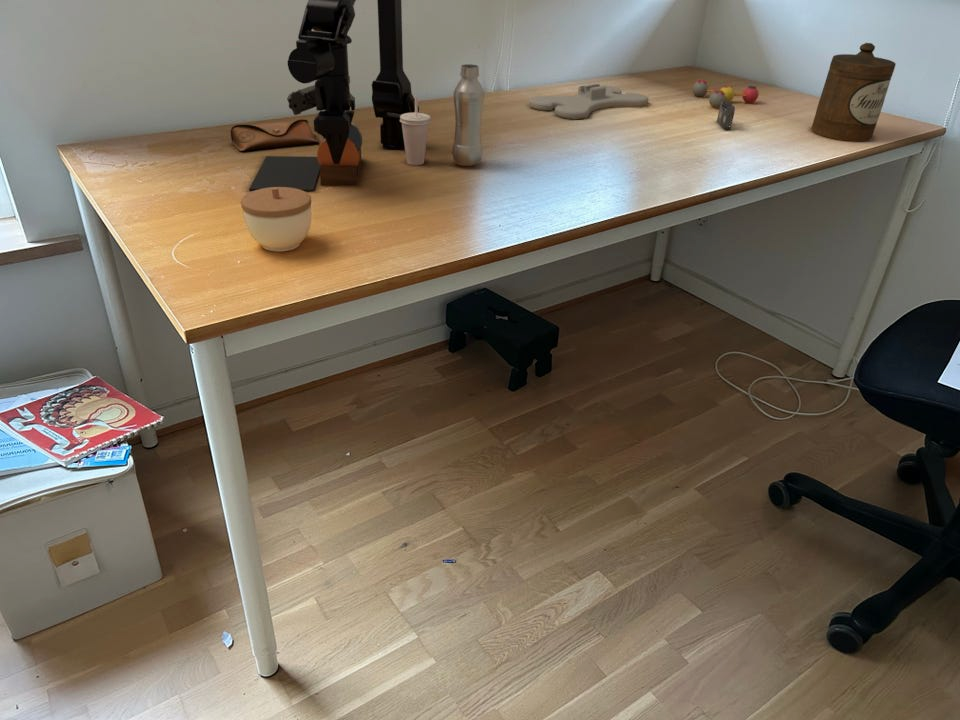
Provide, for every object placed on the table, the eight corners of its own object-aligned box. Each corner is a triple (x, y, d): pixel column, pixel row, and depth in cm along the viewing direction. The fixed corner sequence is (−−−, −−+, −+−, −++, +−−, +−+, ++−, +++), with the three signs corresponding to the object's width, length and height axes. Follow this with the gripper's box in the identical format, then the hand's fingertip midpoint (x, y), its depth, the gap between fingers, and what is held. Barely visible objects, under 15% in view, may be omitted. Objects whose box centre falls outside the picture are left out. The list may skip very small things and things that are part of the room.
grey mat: (323, 158, 156) (323, 156, 156) (313, 191, 140) (313, 189, 140) (266, 157, 155) (266, 156, 155) (249, 190, 139) (248, 188, 138)
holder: (654, 104, 209) (657, 86, 206) (571, 121, 190) (574, 101, 187) (604, 90, 221) (606, 73, 218) (521, 105, 202) (523, 86, 199)
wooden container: (855, 145, 182) (885, 50, 170) (800, 131, 191) (825, 40, 180) (882, 135, 191) (912, 45, 179) (827, 122, 200) (853, 35, 188)
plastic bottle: (486, 162, 159) (490, 64, 148) (475, 171, 154) (479, 71, 143) (458, 158, 161) (460, 61, 150) (447, 167, 155) (448, 67, 144)
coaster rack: (328, 159, 156) (327, 143, 154) (361, 160, 157) (360, 143, 155) (320, 185, 143) (319, 167, 141) (357, 185, 143) (356, 168, 142)
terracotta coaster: (319, 174, 145) (316, 134, 140) (360, 175, 146) (358, 135, 141) (318, 176, 144) (315, 136, 139) (359, 177, 145) (358, 136, 140)
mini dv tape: (730, 130, 189) (735, 106, 186) (724, 130, 189) (729, 106, 186) (722, 122, 196) (727, 98, 193) (716, 121, 196) (721, 98, 193)
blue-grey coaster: (324, 157, 154) (321, 118, 150) (363, 158, 155) (361, 119, 150) (324, 159, 153) (321, 120, 149) (362, 160, 154) (361, 121, 149)
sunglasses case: (240, 150, 157) (232, 119, 156) (235, 159, 163) (228, 129, 162) (321, 141, 165) (314, 112, 164) (313, 150, 171) (307, 121, 170)
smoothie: (407, 168, 153) (406, 99, 146) (395, 159, 158) (394, 92, 150) (435, 165, 156) (435, 97, 148) (423, 156, 161) (423, 90, 153)
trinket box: (233, 250, 116) (224, 193, 111) (272, 226, 125) (265, 172, 120) (291, 263, 113) (284, 205, 108) (327, 237, 122) (323, 183, 117)
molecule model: (689, 94, 222) (692, 78, 219) (743, 95, 224) (746, 79, 221) (711, 109, 207) (714, 92, 204) (769, 110, 209) (773, 93, 206)
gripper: (294, 61, 141) (302, 142, 150) (280, 83, 126) (289, 172, 134) (353, 62, 142) (357, 143, 151) (346, 84, 127) (351, 173, 135)
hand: (338, 156), depth 143 cm, fingers open, 8 cm apart
